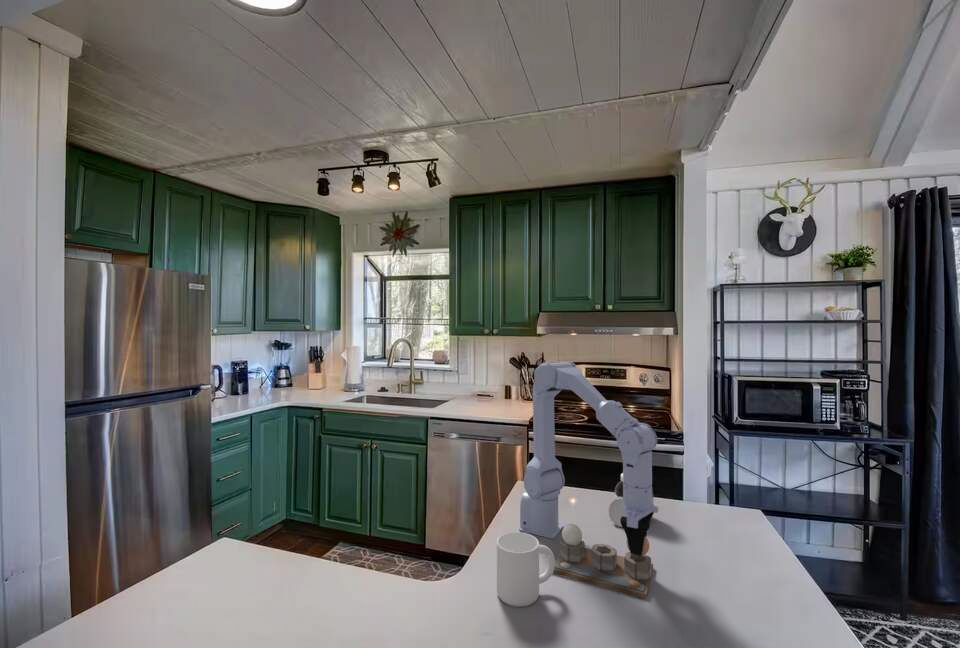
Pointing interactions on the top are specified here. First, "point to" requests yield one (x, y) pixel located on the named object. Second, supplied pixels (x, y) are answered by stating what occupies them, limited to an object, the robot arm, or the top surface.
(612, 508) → the spread jar
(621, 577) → the brown egg holder tray
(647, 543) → the terracotta ball
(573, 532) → the cream ball
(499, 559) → the mug
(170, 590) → the top surface
